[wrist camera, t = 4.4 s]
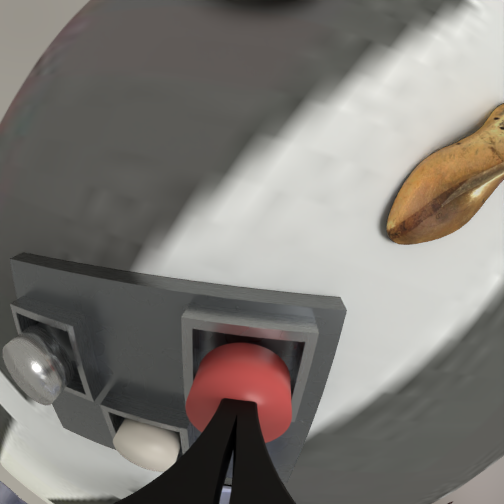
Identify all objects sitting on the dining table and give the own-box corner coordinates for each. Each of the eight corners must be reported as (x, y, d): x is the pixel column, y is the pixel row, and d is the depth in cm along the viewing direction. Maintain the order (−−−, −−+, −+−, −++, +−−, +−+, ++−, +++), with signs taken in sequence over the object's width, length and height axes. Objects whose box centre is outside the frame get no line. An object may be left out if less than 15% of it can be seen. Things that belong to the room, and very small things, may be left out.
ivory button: (184, 452, 17) (177, 477, 15) (131, 438, 17) (120, 460, 15) (180, 418, 16) (170, 446, 14) (120, 402, 16) (106, 426, 14)
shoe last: (364, 197, 13) (402, 212, 9) (507, 96, 10) (553, 88, 6) (400, 265, 14) (441, 301, 10) (531, 154, 11) (576, 158, 7)
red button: (282, 413, 13) (282, 449, 11) (199, 402, 13) (188, 437, 11) (297, 347, 12) (301, 385, 10) (198, 336, 12) (183, 370, 10)
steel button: (80, 391, 14) (62, 414, 12) (35, 371, 15) (16, 389, 12) (64, 335, 13) (39, 358, 11) (18, 318, 13) (-6, 335, 11)
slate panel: (287, 469, 19) (287, 496, 16) (70, 418, 20) (56, 437, 17) (340, 297, 15) (354, 325, 12) (23, 252, 16) (-5, 265, 13)
